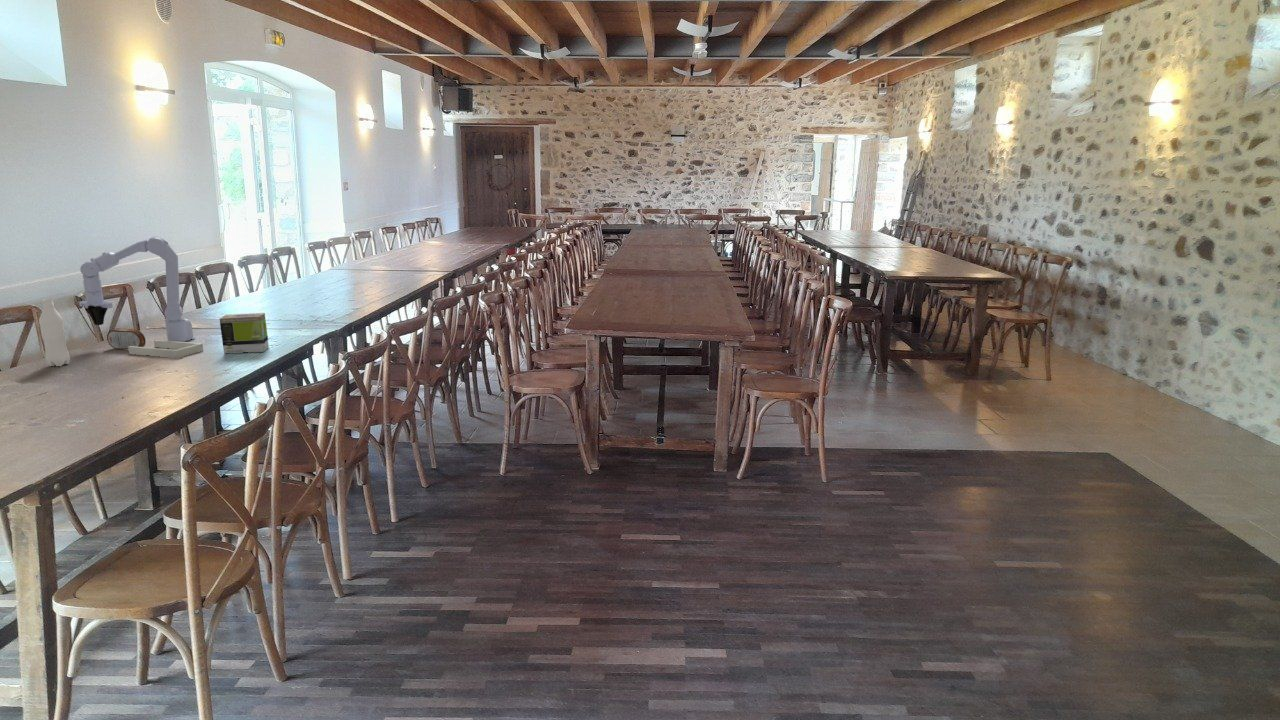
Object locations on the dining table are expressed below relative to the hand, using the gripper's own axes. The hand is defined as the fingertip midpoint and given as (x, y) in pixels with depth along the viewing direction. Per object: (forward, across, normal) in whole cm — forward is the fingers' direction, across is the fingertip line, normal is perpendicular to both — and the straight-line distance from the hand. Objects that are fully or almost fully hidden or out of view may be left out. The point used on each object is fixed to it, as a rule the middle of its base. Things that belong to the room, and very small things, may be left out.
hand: (99, 324), depth 310 cm
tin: (+10, +12, 0) cm, 16 cm away
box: (+9, +32, 0) cm, 33 cm away
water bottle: (+10, +12, -28) cm, 32 cm away
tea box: (+10, +60, +12) cm, 61 cm away
